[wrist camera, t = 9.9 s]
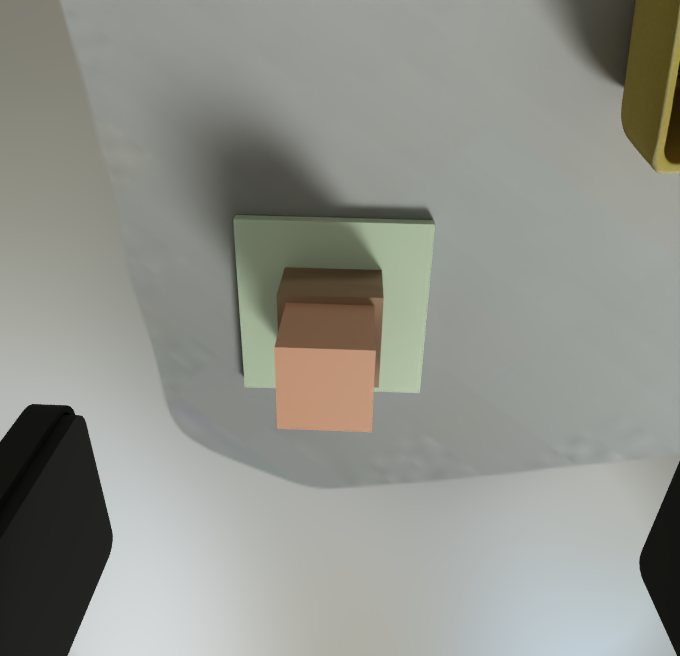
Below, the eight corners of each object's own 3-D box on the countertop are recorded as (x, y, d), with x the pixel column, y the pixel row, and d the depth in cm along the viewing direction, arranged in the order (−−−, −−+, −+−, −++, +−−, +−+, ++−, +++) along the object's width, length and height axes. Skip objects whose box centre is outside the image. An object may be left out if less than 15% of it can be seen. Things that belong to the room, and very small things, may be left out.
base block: (284, 267, 38) (276, 294, 34) (381, 269, 38) (383, 298, 34) (287, 351, 41) (279, 384, 37) (377, 353, 41) (378, 387, 37)
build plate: (235, 215, 37) (233, 219, 37) (433, 220, 37) (435, 224, 36) (246, 380, 43) (244, 387, 42) (418, 386, 43) (419, 392, 42)
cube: (285, 302, 35) (274, 347, 30) (374, 305, 35) (375, 350, 30) (287, 377, 37) (277, 428, 33) (370, 380, 37) (371, 432, 33)
